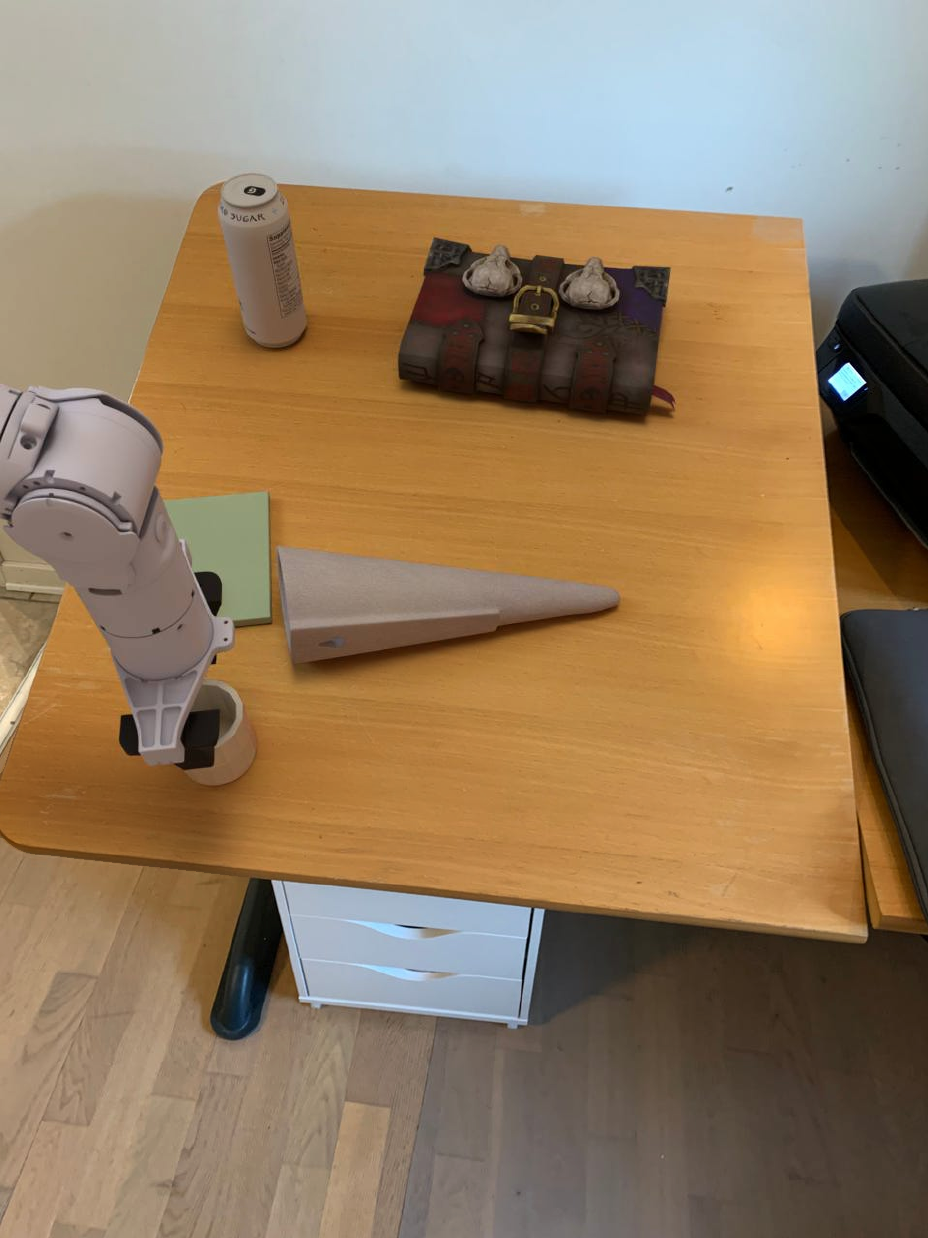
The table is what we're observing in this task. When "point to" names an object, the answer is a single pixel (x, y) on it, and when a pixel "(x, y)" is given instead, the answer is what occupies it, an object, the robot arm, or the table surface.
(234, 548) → the scale
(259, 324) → the energy drink can
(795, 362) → the table surface
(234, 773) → the cup
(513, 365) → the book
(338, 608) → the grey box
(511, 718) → the table surface
